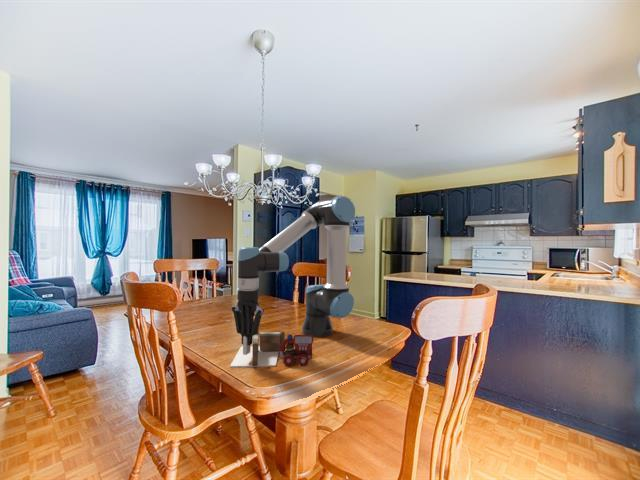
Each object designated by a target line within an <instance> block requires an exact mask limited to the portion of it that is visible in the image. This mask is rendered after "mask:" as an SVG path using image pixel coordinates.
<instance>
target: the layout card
mask: <svg viewBox="0 0 640 480" xmlns="http://www.w3.org/2000/svg"><path fill="white" fill-rule="evenodd" d="M252 354H253V345H250V353H248V354H247V355H243V345H242V346H240V348H239V350H238V351H237V353H236V355H235V357H234V358H233V360H232V361H231V364H230V365H229V368H249V367H250V368H251V367H252V368H253V367H254V368H258V367H259V368H260V367H276V366H277V364H278V363H277V362H278V359H279V358H278V357H279V351H260V345H259V351H258V365H257V366H253V365H252Z"/></svg>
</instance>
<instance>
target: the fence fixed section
mask: <svg viewBox="0 0 640 480" xmlns="http://www.w3.org/2000/svg"><path fill="white" fill-rule="evenodd" d="M257 334H258V351H259V346H260V351H279V350H280V347H281V346H282V344H283V342H284V340H285V339H286V338H285V337H286V335H285V331H282V330H281V331H277V332H276V331H275V332H273V331H268V332H267V331H266V332H264V331H262V332H260V333H259V329H258V332H257ZM253 336H254V335H253ZM253 336H252V337H253Z"/></svg>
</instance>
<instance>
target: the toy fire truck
mask: <svg viewBox="0 0 640 480" xmlns="http://www.w3.org/2000/svg"><path fill="white" fill-rule="evenodd" d="M313 343H314V336H313V335H305V334H295V335H294V336H293V334H290V333H288V334H287V336H286V338H285V340H284V342H283V344H282V346H281V347H280V350H279V353H278V356H279V359H280V360H282V361H283V364H284V366H287V367H291V366H293V365H294V363H295V361H297V364H298V366H300V367H306V366H308V365H309V362H310V360H312V359H313Z"/></svg>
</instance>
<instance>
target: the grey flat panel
mask: <svg viewBox="0 0 640 480" xmlns="http://www.w3.org/2000/svg"><path fill="white" fill-rule="evenodd" d="M252 346H253V354H252V365H253V366H257V365H258V334H255V335H254V336H252Z"/></svg>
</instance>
